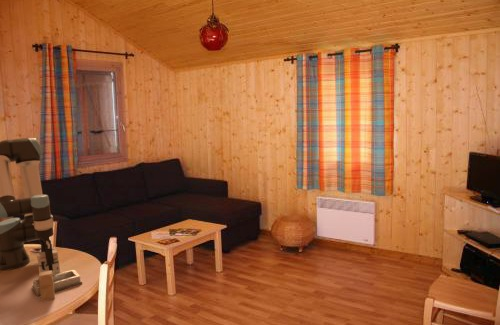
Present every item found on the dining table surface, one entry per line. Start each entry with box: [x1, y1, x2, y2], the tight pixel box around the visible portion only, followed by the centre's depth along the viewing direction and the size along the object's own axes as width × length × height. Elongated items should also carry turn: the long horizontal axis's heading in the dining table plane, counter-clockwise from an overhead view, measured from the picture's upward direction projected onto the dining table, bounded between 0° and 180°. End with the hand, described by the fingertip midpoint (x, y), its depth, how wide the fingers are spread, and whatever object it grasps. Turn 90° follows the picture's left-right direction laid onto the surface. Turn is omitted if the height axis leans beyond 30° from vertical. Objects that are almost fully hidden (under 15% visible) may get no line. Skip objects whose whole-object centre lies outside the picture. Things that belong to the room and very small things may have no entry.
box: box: [38, 270, 56, 302], centre depth 172 cm, size 5×4×11 cm
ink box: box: [36, 248, 61, 275], centre depth 194 cm, size 8×5×12 cm, turn 123°
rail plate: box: [31, 269, 83, 298], centre depth 184 cm, size 12×18×4 cm, turn 128°
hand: (50, 275), depth 195 cm, fingers closed on ink box, 5 cm apart
